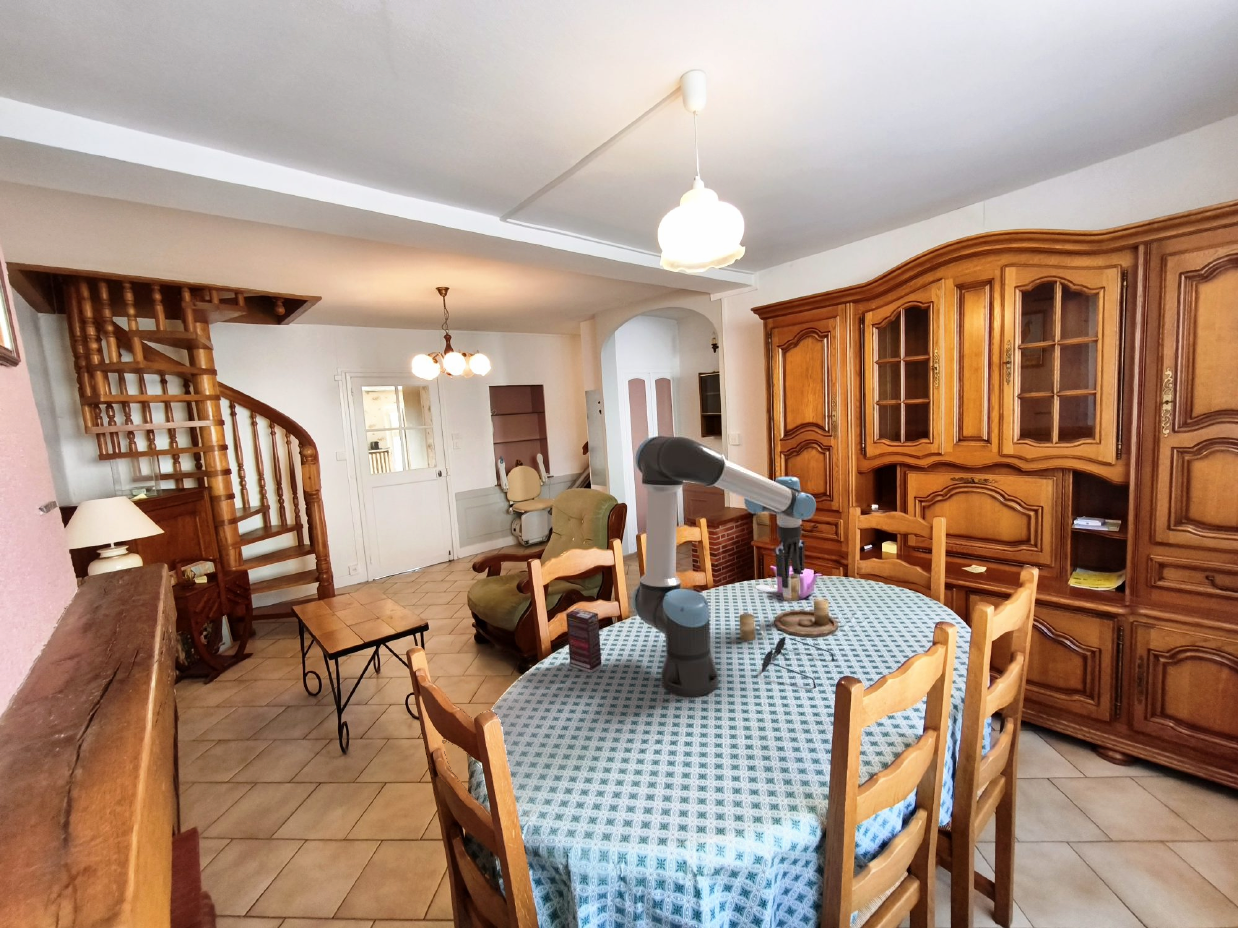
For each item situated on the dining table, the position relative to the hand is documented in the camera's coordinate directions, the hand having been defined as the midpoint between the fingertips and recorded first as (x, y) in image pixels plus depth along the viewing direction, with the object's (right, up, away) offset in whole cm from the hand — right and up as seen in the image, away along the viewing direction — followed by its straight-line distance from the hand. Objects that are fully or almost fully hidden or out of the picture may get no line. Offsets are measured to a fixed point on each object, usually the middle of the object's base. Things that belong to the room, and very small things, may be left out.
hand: (791, 594), depth 173 cm
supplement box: (-66, -16, -21) cm, 71 cm away
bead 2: (0, -1, 0) cm, 1 cm away
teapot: (+10, -6, +25) cm, 27 cm away
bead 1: (-17, -11, -9) cm, 22 cm away
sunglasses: (-7, -13, -28) cm, 32 cm away
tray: (+3, -9, -3) cm, 11 cm away
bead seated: (+9, -8, -3) cm, 12 cm away
